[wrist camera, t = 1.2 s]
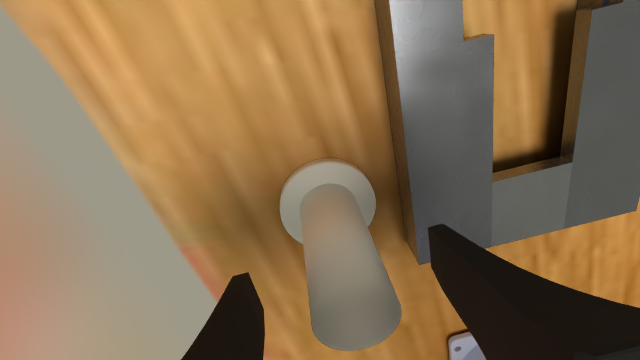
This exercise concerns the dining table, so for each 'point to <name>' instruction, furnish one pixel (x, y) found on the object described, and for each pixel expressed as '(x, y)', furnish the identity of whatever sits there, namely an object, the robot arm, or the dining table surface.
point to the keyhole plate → (477, 126)
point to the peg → (340, 254)
